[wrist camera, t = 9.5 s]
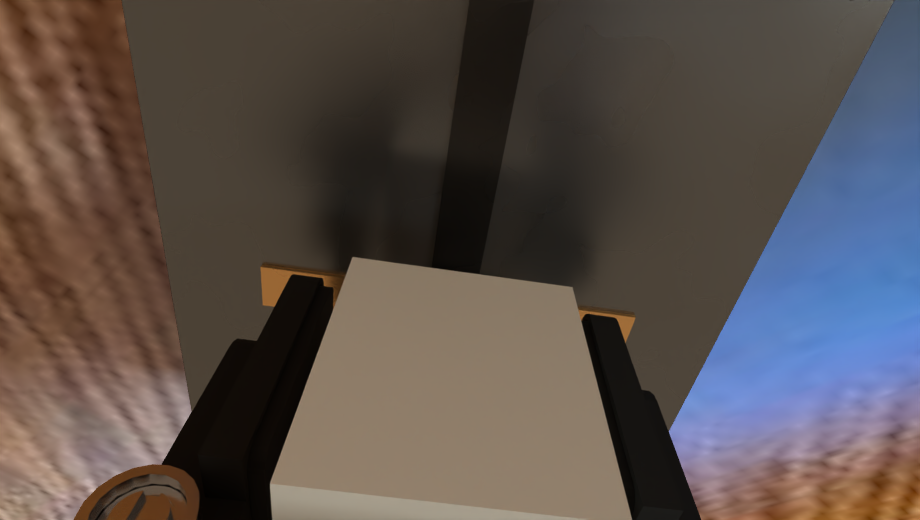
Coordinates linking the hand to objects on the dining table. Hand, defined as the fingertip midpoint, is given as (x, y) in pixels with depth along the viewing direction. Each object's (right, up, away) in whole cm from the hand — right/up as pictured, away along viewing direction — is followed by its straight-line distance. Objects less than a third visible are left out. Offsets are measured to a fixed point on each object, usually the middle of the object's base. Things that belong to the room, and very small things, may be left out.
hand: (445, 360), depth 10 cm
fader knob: (0, 0, +1) cm, 1 cm away
